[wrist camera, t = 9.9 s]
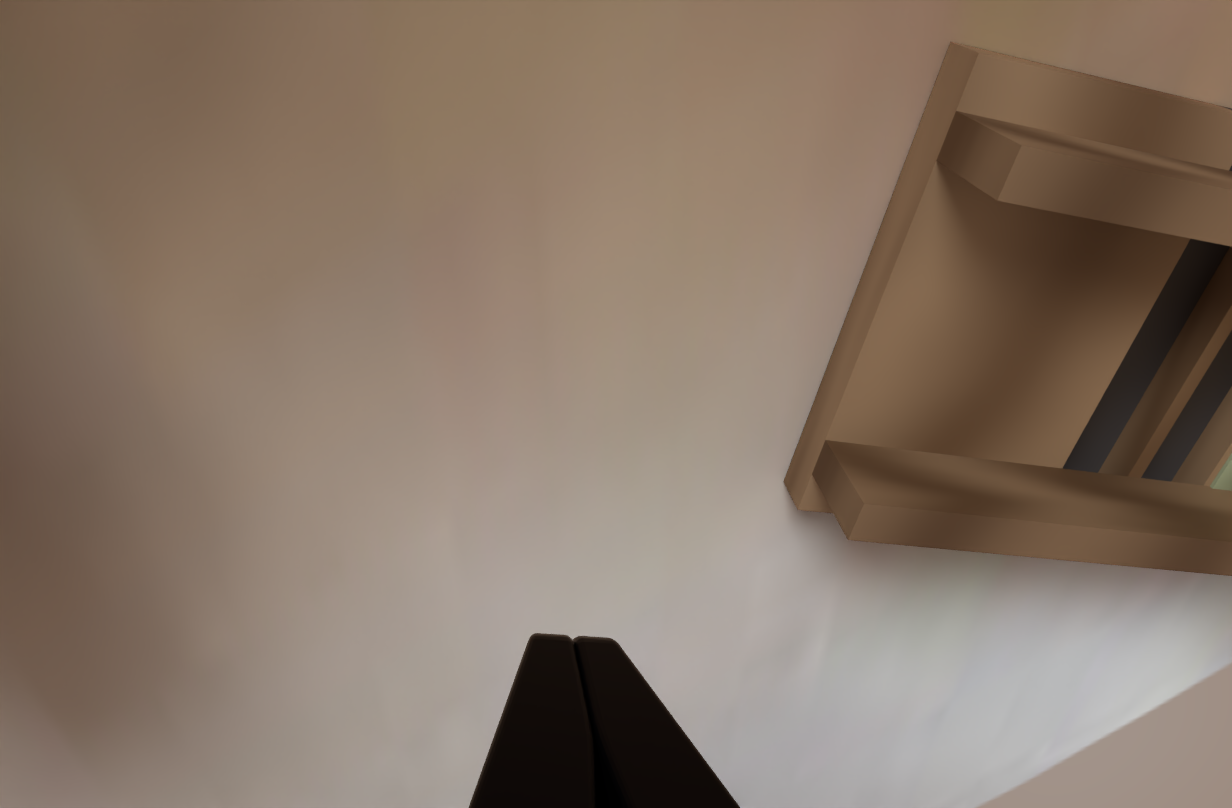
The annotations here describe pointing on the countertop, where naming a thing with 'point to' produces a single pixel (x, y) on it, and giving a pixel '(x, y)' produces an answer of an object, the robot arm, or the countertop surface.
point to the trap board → (1040, 330)
